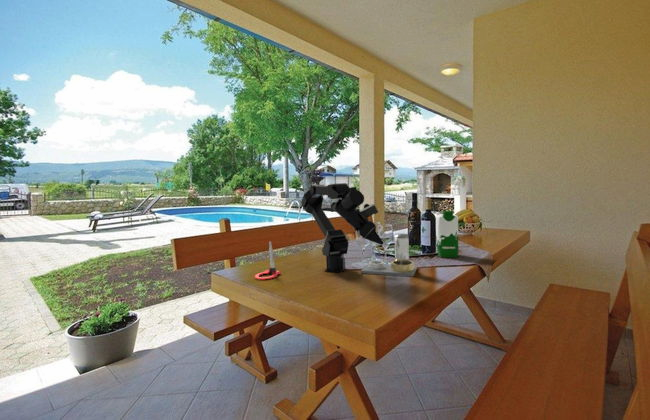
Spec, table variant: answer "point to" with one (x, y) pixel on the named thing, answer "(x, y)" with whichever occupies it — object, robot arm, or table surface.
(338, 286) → the table surface
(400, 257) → the disc
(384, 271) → the fitting board
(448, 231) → the milk carton
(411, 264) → the wide brass socket
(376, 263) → the narrow aluminium socket
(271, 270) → the tow hook
